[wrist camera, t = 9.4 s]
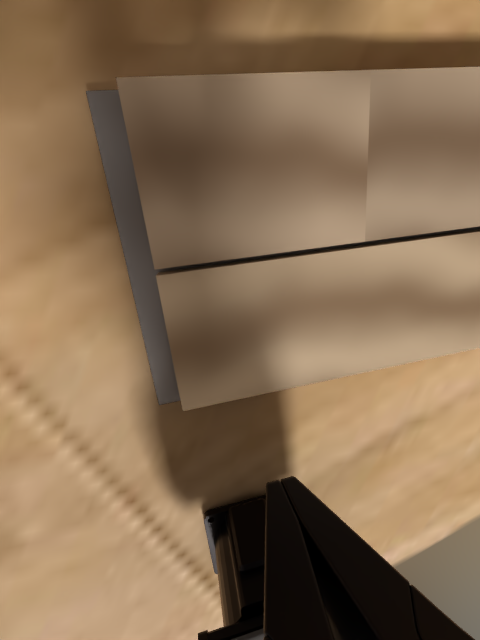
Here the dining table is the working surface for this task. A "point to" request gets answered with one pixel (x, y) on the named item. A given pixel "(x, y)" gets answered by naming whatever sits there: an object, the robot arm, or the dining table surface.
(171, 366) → the underlay mat
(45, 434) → the dining table surface
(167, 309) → the loose plank
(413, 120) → the fixed plank row
